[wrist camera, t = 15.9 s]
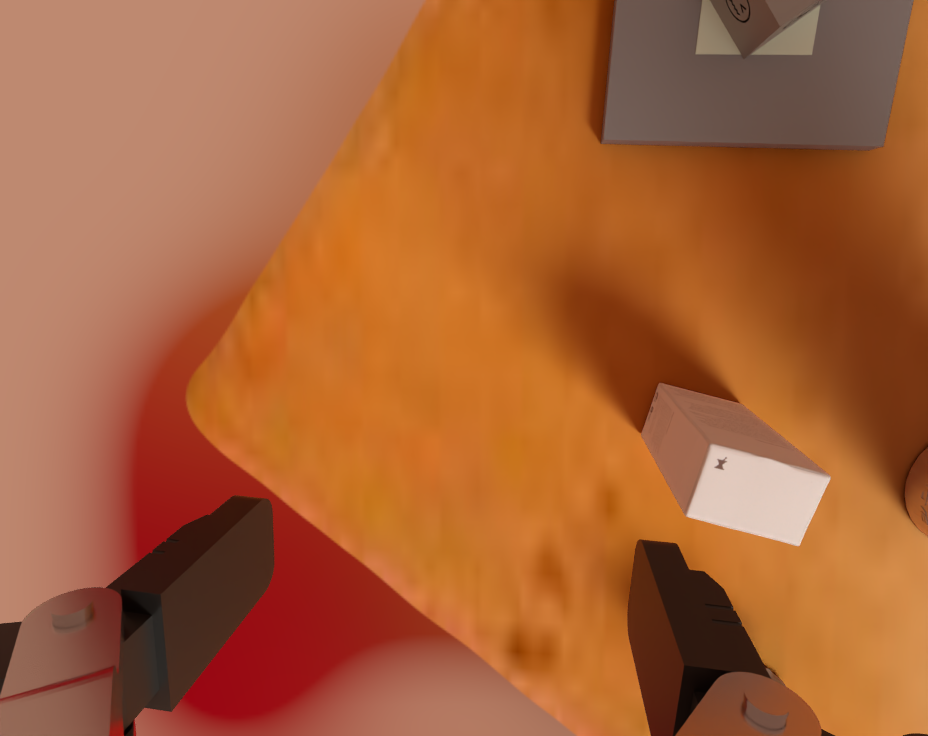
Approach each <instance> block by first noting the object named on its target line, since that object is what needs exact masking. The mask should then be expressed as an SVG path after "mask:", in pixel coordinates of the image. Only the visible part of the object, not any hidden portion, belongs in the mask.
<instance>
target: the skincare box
mask: <svg viewBox="0 0 928 736" xmlns="http://www.w3.org/2000/svg"><path fill="white" fill-rule="evenodd" d="M641 436H642V438H643V440H644V442H645V444H646V445H647V447H648V449H649V451H650V453H651V454H652V456H653V458H654V460H655V462H656V464H657V465H658V467H659V469H660V471H661V473H662V474H663V476H664V478H665V480H666V482H667V484H668V486H669V487H670V489H671V491H672V493H673V495H674V496H675V498H676V500H677V502H678V504H679V505H680V507H681V509H682V511H683V513H684V514H685V516H687V517H690V518H694V519H697V520H701V521H705V522H708V523H712V524H716V525H720V526H723V527H727V528H731V529H735V530H739V531H743V532H747V533H751V534H754V535H758V536H762V537H766V538H770V539H773V540H777V541H781V542H785V543H789V544H792V545H795V546H799V545H800V543H801V541H802V538H803V536H804V534H805V532H806V529H807V527H808V525H809V523H810V521H811V519H812V517H813V515H814V512H815V510H816V508H817V506H818V504H819V502H820V499H821V497H822V495H823V493H824V491H825V489H826V487H827V485H828V483H829V481H830V479H831V477H830V475H829V474H828V473H826V472H825V471H824V470H822V469H821V468H820V467H819V466H818V465H816V464H815V463H814V462H813V461H811V460H810V459H809V458H808V457H806V456H805V455H804V454H803V453H802V452H800V451H799V450H798V449H797V448H795V447H794V446H793V445H792V444H790V443H789V442H788V441H787V440H786V439H784V438H783V437H782V436H781V435H779V434H778V433H777V432H776V431H774V430H773V429H772V428H771V427H769V426H768V425H767V424H766V423H765V422H763V421H762V420H761V419H760V418H758V417H757V416H756V415H755V414H753V413H752V412H751V411H750V410H749V409H747V408H746V407H745V406H744V405H742V404H740V403H736V402H733V401H729V400H725V399H721V398H717V397H714V396H710V395H706V394H702V393H698V392H694V391H691V390H687V389H683V388H679V387H675V386H671V385H667V384H663V383H659V384H658V387H657V390H656V393H655V395H654V398H653V401H652V404H651V407H650V410H649V413H648V416H647V419H646V422H645V425H644V428H643V430H642V433H641Z"/></svg>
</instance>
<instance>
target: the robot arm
mask: <svg viewBox="0 0 928 736" xmlns="http://www.w3.org/2000/svg"><path fill="white" fill-rule="evenodd" d="M904 495H905V502H906V508H907V510H908V513H909V515H910V518H911V520H912V521H913V522H914V524H915V525H916V526H917V528H918V529H919V530H920V531H921V532H923V533H924V534H925V535H926V536H927V537H928V447H927V448H926V449H925V450H924V451H923V452H922V453H921V454H920V455H919V457H918V458H917V460H916V461H915V463H914V464H913V466H912V467H911V469H910V472H909V475H908V477H907V480H906V486H905V494H904ZM273 570H274V539H273V513H272V505H271V503H270V501H269V500H268V499H264V498H254V497H246V496H232V497H231V498H230V499H229V500H227V501H226V502H225V503H224V504H222V505H221V506H220V507H219V508H218V509H216V510H215V511H214V512H213V513H212V514H210V515H205V516H203V517H201V518H199V519H197V520H194V521H192V522H190V523H188V524H186V525H184V526H182V527H181V528H180V529H179V530H177V531H176V532H175V533H174V534H172V535H171V536H170V537H169V538H167V541H166V542H162V543H161V544H160V545H159V546H157V547H156V548H155V549H154V550H153V552H152V553H149V554H147V555H146V556H145V557H144V558H142V559H141V560H140V561H139V562H137V563H136V564H135V565H134V566H132V567H131V568H130V569H129V570H127V571H126V572H125V573H124V574H122V575H121V576H120V577H118V578H117V579H116V580H115V581H113V582H112V583H111V584H110V585H108V586H107V587H106V588H101V587H92V588H83V589H78V590H74V591H70V592H67V593H64V594H61V595H58V596H56V597H54V598H51V599H50V600H48V601H46V602H44V603H42V604H41V605H39V606H38V607H36V608H35V609H34V610H32V611H31V612H30V613H29V614H28V615H27V616H26V617H25V618H24V620H23V621H22V622H14V623H3V624H0V736H136V724H135V718H136V717H137V716H138V714H139V713H140V712H141V711H142V709H144V708H151V709H157V710H164V711H170V712H172V710H173V709H174V708H175V706H176V705H177V704H178V702H179V701H180V700H181V699H182V698H183V696H184V695H185V693H186V692H187V691H188V689H190V687H191V686H192V685H193V683H194V682H195V681H196V679H197V678H198V677H199V676H200V675H201V673H202V672H203V671H204V669H205V668H206V667H207V666H208V664H209V663H210V662H211V660H212V659H213V658H214V657H215V655H216V654H217V653H218V651H219V650H220V649H221V648H222V646H223V645H224V644H225V642H226V641H227V640H228V639H229V637H230V636H231V635H232V634H233V632H234V631H235V630H236V628H237V627H238V626H239V625H240V623H241V622H242V621H243V619H244V618H245V617H246V615H247V614H248V613H249V612H250V611H251V609H252V608H253V607H254V605H255V604H256V603H257V601H258V600H259V599H260V598H261V596H262V595H263V594H264V593H265V591H266V590H267V588H268V586H269V584H270V581H271V578H272V575H273ZM628 635H629V640H630V645H631V649H632V654H633V658H634V663H635V667H636V671H637V676H638V680H639V685H640V689H641V693H642V698H643V702H644V707H645V711H646V715H647V720H648V724H649V729H650V733H651V736H835V735H832V734H830V733H828V732H826V731H824V730H822V729H821V726H820V723H819V720H818V718H817V716H816V715H815V713H814V712H813V710H812V709H811V708H810V706H809V705H808V704H807V703H806V702H805V701H804V700H803V699H802V698H800V697H799V696H798V695H797V694H796V693H794V692H793V691H792V690H790V689H789V688H787V687H785V686H784V685H782V684H780V683H778V682H776V681H774V680H772V679H771V677H770V675H769V673H768V672H767V670H766V668H765V666H764V664H763V662H762V660H761V658H760V656H759V655H758V653H757V651H756V649H755V647H754V645H753V643H752V641H751V640H750V638H749V636H748V634H747V632H746V630H745V628H744V627H742V623H741V621H740V619H739V617H738V615H737V613H736V611H733V606H732V604H731V602H730V600H729V598H728V596H727V594H726V592H725V591H724V589H723V588H722V587H721V586H720V585H719V584H718V583H717V582H715V581H714V580H713V579H712V578H711V577H710V576H709V575H708V574H706V573H705V572H704V571H695V570H689V569H688V567H687V564H686V562H685V560H684V558H683V556H682V553H681V551H680V549H679V547H678V545H677V544H676V543H668V542H658V541H649V540H638V542H637V545H636V549H635V556H634V564H633V572H632V580H631V587H630V595H629V603H628ZM903 736H928V735H927V734H907V735H903Z"/></svg>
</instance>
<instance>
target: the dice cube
mask: <svg viewBox="0 0 928 736" xmlns="http://www.w3.org/2000/svg"><path fill="white" fill-rule="evenodd" d="M710 1H711V3H712V5H713V7H714V8H715V10H716V12H717V14H718V15H719V17H720V19H721V20H722V22H723V24H724V26H725V27H726V29H727V31H728V32H729V34H730V36H731V38H732V39H733V41H734V43H735V45H736V46H737V48H738V50H739V51H740V53H741V55H742V57H743V58H744V59H745V58H746V57H748V56H749V55H750V54H752V53H753V52H755V51H756V50H757V49H759V48H760V47H762V46H763V45H765V44H766V43H767V42H769V41H770V40H772V39H773V38H774V37H776V36H777V35H779V34H780V33H781V32H783V31H784V30H786V29H787V28H788V27H790V26H791V25H793V24H794V23H796V22H797V21H798V20H800V19H801V18H803V17H804V16H805V15H807V14H808V13H810V12H811V11H812V10H814V9H815V8H817V7H818V6H819V5H821V4H822V3H824V2H825V1H826V0H710Z"/></svg>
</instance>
